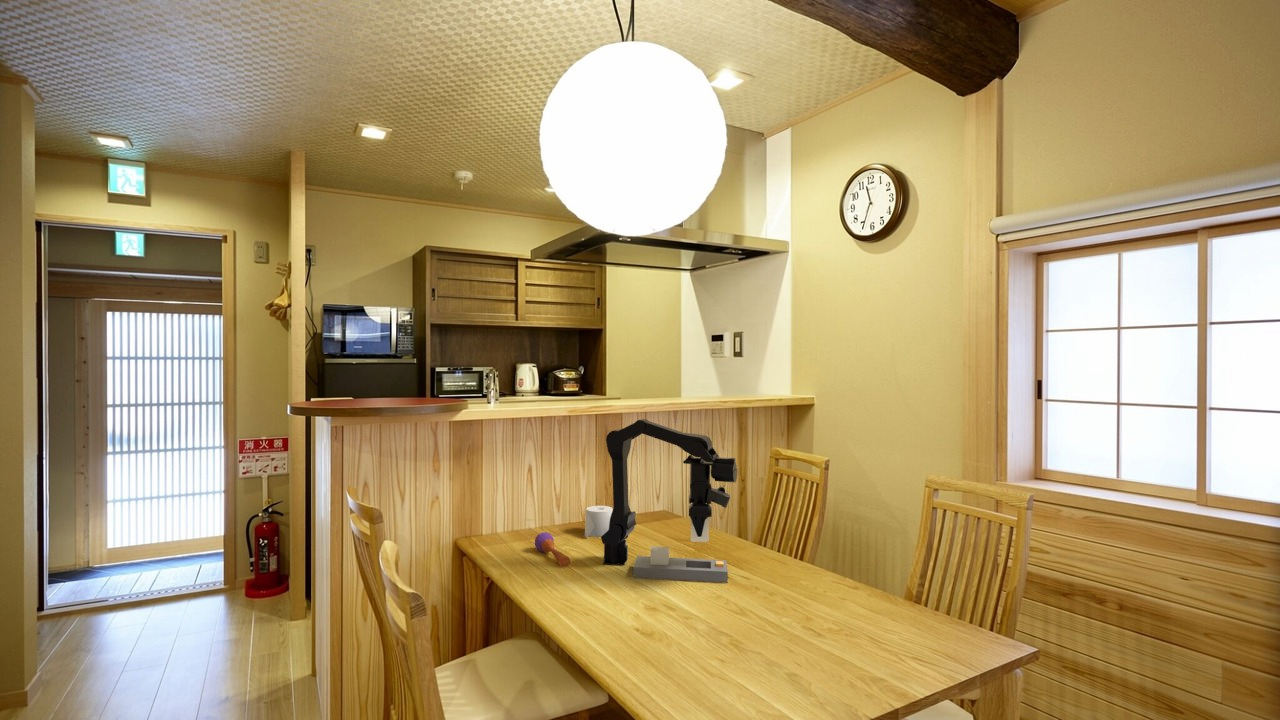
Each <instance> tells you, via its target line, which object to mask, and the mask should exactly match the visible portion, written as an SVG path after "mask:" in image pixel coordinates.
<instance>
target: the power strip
mask: <svg viewBox="0 0 1280 720" xmlns="http://www.w3.org/2000/svg"><path fill="white" fill-rule="evenodd" d="M727 564H728V561H727V560H726V559H725V560H724V559H705V558H687V557H685V558H683V557H670V547H669V546H660V545H659V546H655V545H652V546H651V548H650V556H646V555H645V556H644V555H643V556H642V555H637V556H636V559H635V562H634V564H633V573H632V574H633V576H632V577H633V579H645V580H664V579H666V580H667V581H683V580H685V581H686V582H703V581H705V582H706V583H722V582H724V583H727V584H728V579H729V577H728V573H729V571H728V565H727ZM666 580H665V581H666Z"/></svg>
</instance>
